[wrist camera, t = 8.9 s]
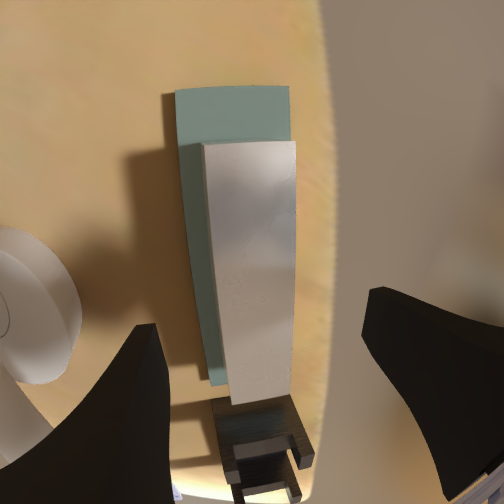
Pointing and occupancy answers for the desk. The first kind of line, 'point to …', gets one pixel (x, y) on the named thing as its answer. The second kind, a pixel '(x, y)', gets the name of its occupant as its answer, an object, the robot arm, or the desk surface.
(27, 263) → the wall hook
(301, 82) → the desk surface
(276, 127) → the rubber mat
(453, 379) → the robot arm
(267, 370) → the silver rail
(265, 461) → the dark grey slotted rack
